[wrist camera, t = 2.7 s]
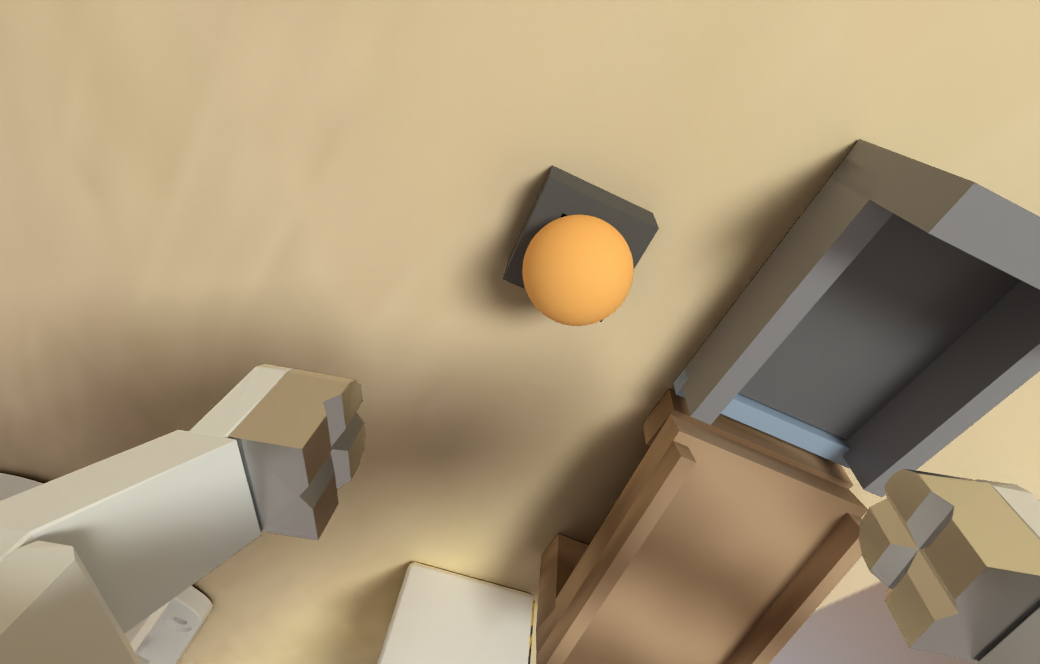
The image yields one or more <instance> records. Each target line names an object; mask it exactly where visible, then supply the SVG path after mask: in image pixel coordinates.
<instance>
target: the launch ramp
mask: <svg viewBox="0 0 1040 664" xmlns="http://www.w3.org/2000/svg"><path fill="white" fill-rule="evenodd" d="M643 430H644V436H645V442H646V445H648V446H650V448H649V449H648V451H647V453H646V454H645V456H644V458H643V459H642V461H641V462H640V464H639V466H638V467H637V469H636V470H635V472H634V474H633V475H632V477H631V478H630V480H629V482H628V483H627V485H626V487H625V488H624V490H623V491H622V493H621V495H620V496H619V498H618V499H617V501H616V503H615V504H614V506H613V507H612V509H611V511H610V512H609V514H608V516H607V517H606V519H605V520H604V522H603V524H602V525H601V527H600V528H599V530H598V532H597V533H596V535H595V537H594V538H593V540H592V541H591V543H590V545H587V544H584V543H582V542H579V541H576V540H574V539H571V538H568V537H566V536H563V535H560V534H558V535H557V536H556V538H555V539H554V540H553V542H552V543H551V544H550V546H549V547H548V548H547V549H546V551H545V552H544V553H543V555H542V556H541V570H540V584H539V598H538V612H537V626H536V648H537V655H536V664H769V663H770V662H771V661H772V659H773V658H774V657H775V656H776V655H777V654H778V652H779V651H780V650H781V649H782V648H783V646H784V645H785V644H786V643H787V642H788V641H789V640H790V638H791V637H792V636H793V635H794V634H795V633H796V632H797V630H798V629H799V628H800V627H801V626H802V625H803V623H804V622H805V621H806V620H807V619H808V618H809V616H810V615H811V614H812V613H813V612H814V611H815V610H816V608H817V607H818V606H819V605H820V604H821V603H822V601H823V600H824V599H825V598H826V597H827V596H828V594H829V593H830V592H831V591H832V590H833V589H834V587H835V586H836V585H837V584H838V583H839V582H840V580H841V579H842V578H843V577H844V576H845V575H846V574H847V572H848V571H849V570H850V569H851V568H852V567H853V565H854V564H855V563H856V562H857V561H858V560H859V558H860V557H861V556H862V553H861V548H860V544H859V532H860V522H861V521H862V519H861V517H862V516H863V515H864V514H865V513H866V511H867V510H868V509H867V508H866V507H865V506H864V505H863V504H862V503H861V502H860V501H859V500H858V499H857V498H856V496H855V495H854V494H853V493H852V492H851V491H850V490H849V488H851V487H852V486H853V484H852V482H851V480H850V479H849V477H848V476H847V474H846V472H845V471H844V469H843V467H842V466H841V465H840V464H838V463H835V462H833V461H831V460H828V459H826V458H824V457H821V456H819V455H817V454H814V453H812V452H810V451H807V450H805V449H803V448H800V447H798V446H796V445H793V444H791V443H789V442H786V441H784V440H782V439H779V438H777V437H775V436H772V435H770V434H767V433H765V432H763V431H760V430H758V429H756V428H753V427H751V426H749V425H746V424H744V423H742V422H739V421H737V420H735V419H732V418H730V417H728V416H725V415H723V414H720V415H719V416H718V417H717V418H716V419H715V421H714V422H713V423H712V424H711V425H709V424H707V423H705V422H702V421H700V420H698V419H695V418H693V417H691V416H690V413H689V410H688V406H687V403H686V399H685V398H683V397H681V396H678V395H676V393H675V391H672V390H670V389H668V391H667V392H666V393H665V395H664V396H663V397H662V399H661V400H660V401H659V403H658V404H657V405H656V406H655V408H654V409H653V410H652V412H651V413H650V414H649V416H648V417H647V418H646V420H645V421H644V422H643Z"/></svg>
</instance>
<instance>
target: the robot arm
mask: <svg viewBox="0 0 1040 664" xmlns="http://www.w3.org/2000/svg"><path fill="white" fill-rule="evenodd" d="M362 401H363V400H362V392H361V384H360V383H358V382H357V381H356V380H354V379H348V378H343V377H338V376H332V375H327V374H321V373H316V372H311V371H305V370H300V369H291V368H286V367H281V366H275V365H270V364H263V365H259V366H256V367H255V368H254V369H253V370H252V371H251V372H249V373H248V374H247V375H246V376H245V377H244V378H243V379H242V380H241V381H240V382H239V383H238V384H237V385H236V386H235V387H234V388H233V389H232V390H231V391H230V392H229V393H228V394H227V395H226V396H225V397H224V398H223V399H222V400H221V401H220V402H219V403H217V404H216V405H215V406H214V407H213V408H212V409H211V410H210V411H209V412H208V413H207V414H206V415H205V416H204V417H203V418H202V419H201V420H200V421H199V422H198V423H197V424H196V425H195V426H194V427H193V428H192V429H191V430H190V431H183V430H176V431H174V432H171V433H169V434H166V435H164V436H161V437H159V438H156V439H154V440H151V441H149V442H146V443H144V444H141V445H139V446H136V447H134V448H131V449H129V450H126V451H124V452H121V453H119V454H116V455H114V456H112V457H109V458H107V459H104V460H102V461H99V462H97V463H94V464H92V465H89V466H87V467H84V468H82V469H79V470H77V471H74V472H72V473H69V474H67V475H64V476H62V477H59V478H57V479H54V480H52V481H49V482H47V483H44V484H43V483H40V482H37V481H34V480H30V479H26V478H23V477H18V476H14V475H9V474H4V473H0V664H177V662H178V661H179V659H180V658H181V656H182V655H183V653H184V652H185V650H186V649H187V647H188V646H189V644H190V642H191V641H192V639H193V638H194V636H195V635H196V633H197V632H198V630H199V629H200V627H201V626H202V624H203V623H204V621H205V620H206V618H207V617H208V615H209V614H210V612H211V610H212V608H213V605H212V603H211V601H210V600H209V599H208V598H207V597H206V596H205V595H204V594H202V593H201V592H200V591H198V590H197V589H196V588H194V587H193V586H191V585H193V584H194V583H195V582H197V581H198V580H200V579H201V578H202V577H204V576H205V575H206V574H208V573H209V572H211V571H212V570H213V569H215V568H216V567H218V566H219V565H220V564H222V563H223V562H224V561H226V560H227V559H229V558H230V557H231V556H233V555H234V554H236V553H237V552H238V551H240V550H241V549H242V548H244V547H245V546H247V545H248V544H249V543H251V542H252V541H254V540H255V539H256V538H258V537H259V536H260V535H261V532H268V533H274V534H281V535H287V536H294V537H300V538H307V539H314V540H318V539H319V537H320V536H321V534H322V532H323V530H324V528H325V527H326V525H327V523H328V521H329V520H330V518H331V516H332V514H333V512H334V511H335V509H336V507H337V505H338V496H337V489H338V488H339V487H341V486H343V485H344V484H346V483H348V482H349V481H351V480H352V478H353V476H354V474H355V472H356V470H357V468H358V466H359V463H360V460H361V456H362V453H363V450H364V442H365V423H364V422H363V420H362V419H361V418H360V417H359V416H358V414H357V413H356V411H357V409H358V408H359V406H360V405H361V403H362ZM884 489H885V493H886V496H887V499H885V500H883V501H881V502H879V503H877V504H875V505H873V506H871V507H869V509H868V511H867V512H866V514H865V516H864V517H863V519H862V521H861V522H860V532H859V544H860V548H861V553H862V556H863V558H864V560H865V562H866V564H867V566H868V568H869V571H870V572H871V573H872V574H874V575H875V576H876V577H877V578H878V579H879V580H880V581H881V582H883V583H884V584H885V585H886V586H887V587H888V590H887V594H886V597H885V602H886V604H887V606H888V608H889V610H890V612H891V614H892V616H893V618H894V620H895V622H896V624H897V626H898V627H899V629H900V631H901V633H902V635H903V637H904V639H905V641H906V643H907V645H908V647H909V648H911V649H916V650H920V651H925V652H930V653H934V654H939V655H944V656H948V657H954V658H958V659H963V660H967V661H973V662H977V664H1040V501H1039V500H1038V499H1037V498H1036V497H1035V496H1034V495H1033V494H1032V493H1030V492H1029V491H1027V490H1025V489H1023V488H1021V487H1020V486H1018V485H1014V484H1006V483H999V482H992V481H985V480H972V479H966V478H960V477H954V476H947V475H941V474H934V473H928V472H922V471H915V470H909V469H902V470H900V471H898V472H896V473H894V474H893V475H892V476H891V477H890V479H889V480H888V481H887V483H886V484H885V485H884Z"/></svg>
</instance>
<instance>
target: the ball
mask: <svg viewBox="0 0 1040 664" xmlns="http://www.w3.org/2000/svg"><path fill="white" fill-rule="evenodd" d="M633 271H634V269H633V259H632V254H631V252H630V249H629V246H628V244H627V243H626V241H625V239H624V238H623V236H622V235H621V234H620V233H619V232H618V231H617V230H616V229H615V228H614V227H613V226H612V225H610V224H609V223H607V222H605V221H604V220H602V219H599V218H597V217H593V216H589V215H569V216H564V217H561V218H558V219H556V220H554V221H552V222H550V223H548V224H547V225H546V226H544V227H543V228H542V229H541V230H540V231H539V232H538V233H537V234H536V235H535V236H534V238H533V239H532V240H531V242H530V244H529V246H528V248H527V250H526V253H525V256H524V260H523V270H522V272H523V281H524V286H525V289H526V292H527V294H528V296H529V298H530V300H531V301H532V302H533V304H534V305H535V307H536V308H537V309H538V310H539V311H540V312H541V313H543V314H544V315H545V316H547V317H548V318H550V319H552V320H554V321H556V322H559V323H561V324H566V325H572V326H582V325H589V324H593V323H596V322H599V321H601V320H603V319H605V318H606V317H608V316H609V315H611V314H612V313H613V312H615V311H616V310H617V309H618V308H619V307H620V305H621V304H622V303H623V301H624V300H625V298H626V297H627V295H628V293H629V290H630V287H631V284H632V280H633Z"/></svg>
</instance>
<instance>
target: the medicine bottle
mask: <svg viewBox="0 0 1040 664" xmlns="http://www.w3.org/2000/svg"><path fill="white" fill-rule="evenodd" d="M534 604H535V600H534V597H533V596H532V595H531V594H529V593H525V592H522V591H518V590H514V589H511V588H507V587H503V586H500V585H496V584H493V583H489V582H485V581H482V580H478V579H475V578H471V577H467V576H464V575H460V574H457V573H453V572H449V571H446V570H442V569H439V568H435V567H431V566H428V565H424V564H421V563H417V562H414V563H411V564H410V565H409V566H408V568H407V571H406V574H405V577H404V580H403V583H402V587H401V590H400V593H399V596H398V599H397V602H396V605H395V608H394V612H393V615H392V618H391V621H390V624H389V627H388V630H387V633H386V636H385V640H384V643H383V646H382V649H381V652H380V655H379V658H378V661H377V664H530V655H531V642H532V630H533V617H534Z"/></svg>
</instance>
